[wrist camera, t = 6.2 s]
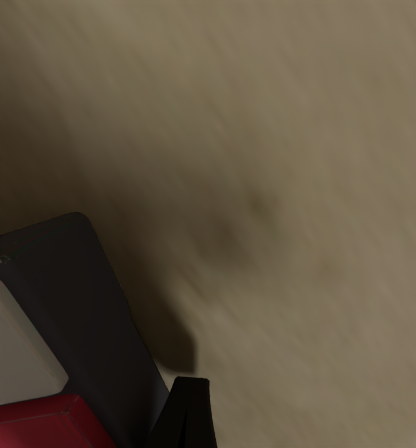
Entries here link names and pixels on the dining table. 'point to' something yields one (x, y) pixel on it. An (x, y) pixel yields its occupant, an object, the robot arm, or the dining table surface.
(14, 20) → the dining table surface
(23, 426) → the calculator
